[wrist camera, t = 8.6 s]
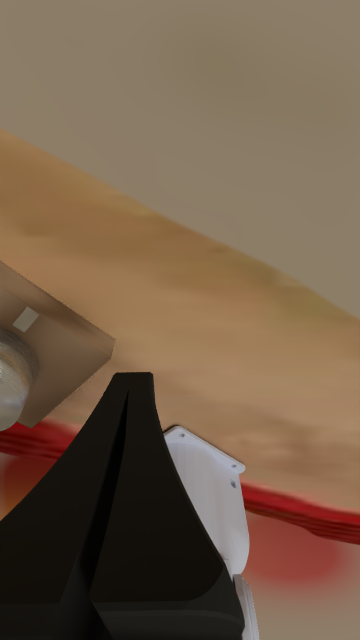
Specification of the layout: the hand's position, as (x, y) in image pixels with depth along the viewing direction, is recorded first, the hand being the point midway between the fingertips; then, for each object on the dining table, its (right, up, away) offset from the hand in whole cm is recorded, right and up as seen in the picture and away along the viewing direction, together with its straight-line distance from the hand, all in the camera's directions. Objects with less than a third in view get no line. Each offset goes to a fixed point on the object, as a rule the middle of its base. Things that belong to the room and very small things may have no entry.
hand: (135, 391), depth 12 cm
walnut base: (-10, +1, +10) cm, 15 cm away
